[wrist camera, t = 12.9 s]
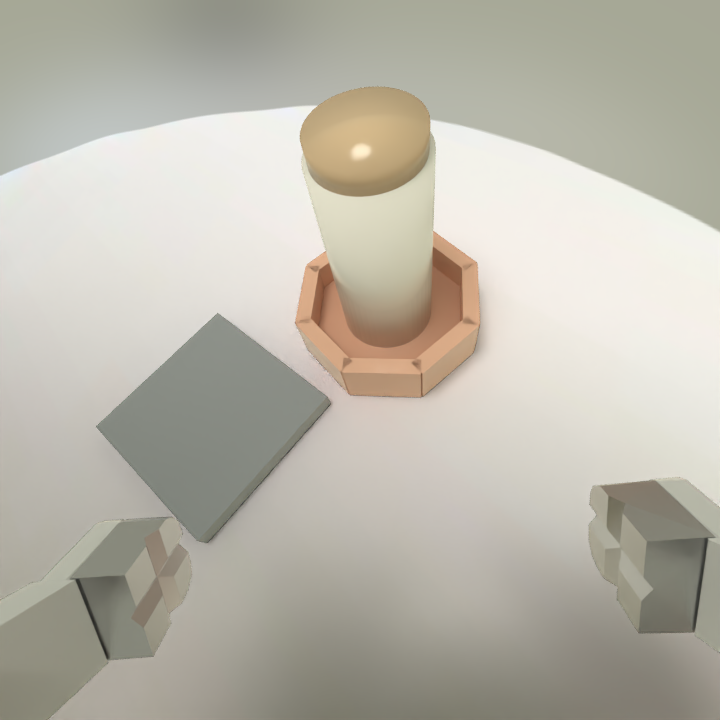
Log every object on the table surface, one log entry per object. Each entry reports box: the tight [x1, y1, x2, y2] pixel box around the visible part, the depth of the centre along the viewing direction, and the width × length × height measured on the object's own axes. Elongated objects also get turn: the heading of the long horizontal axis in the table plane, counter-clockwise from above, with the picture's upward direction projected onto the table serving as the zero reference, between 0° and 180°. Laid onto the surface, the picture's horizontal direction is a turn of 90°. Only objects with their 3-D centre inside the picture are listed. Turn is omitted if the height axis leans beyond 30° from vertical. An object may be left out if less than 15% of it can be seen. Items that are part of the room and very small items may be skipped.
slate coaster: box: [96, 313, 330, 543], centre depth 23 cm, size 9×9×1 cm
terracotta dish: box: [295, 231, 480, 397], centre depth 24 cm, size 9×9×3 cm
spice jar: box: [300, 87, 436, 348], centre depth 19 cm, size 5×5×11 cm
